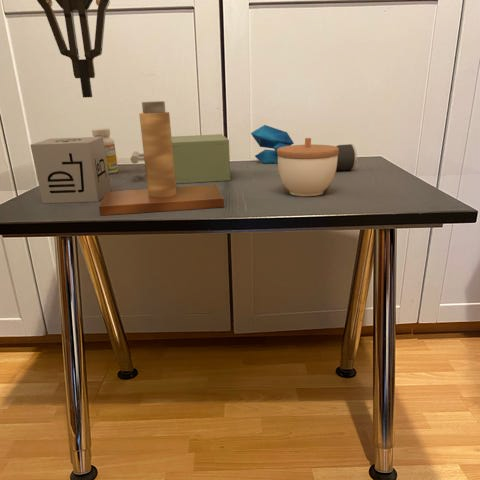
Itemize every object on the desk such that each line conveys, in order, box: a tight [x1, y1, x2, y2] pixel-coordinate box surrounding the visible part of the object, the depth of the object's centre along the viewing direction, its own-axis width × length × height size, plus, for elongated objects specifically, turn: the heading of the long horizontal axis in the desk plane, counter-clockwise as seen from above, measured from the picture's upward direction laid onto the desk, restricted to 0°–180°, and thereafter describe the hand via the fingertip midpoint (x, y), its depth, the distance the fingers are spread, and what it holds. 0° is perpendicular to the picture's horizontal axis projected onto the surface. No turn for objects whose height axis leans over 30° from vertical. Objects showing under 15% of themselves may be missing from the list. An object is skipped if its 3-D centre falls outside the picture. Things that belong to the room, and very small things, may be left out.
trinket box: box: [277, 137, 339, 197], centre depth 85 cm, size 11×11×9 cm
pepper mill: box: [138, 100, 177, 198], centre depth 80 cm, size 5×5×15 cm
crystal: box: [250, 124, 295, 165], centre depth 120 cm, size 7×9×12 cm
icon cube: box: [29, 136, 112, 204], centre depth 89 cm, size 10×10×10 cm
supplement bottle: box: [91, 128, 119, 175], centre depth 113 cm, size 5×5×10 cm
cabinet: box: [171, 133, 231, 185], centre depth 104 cm, size 15×13×8 cm
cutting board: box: [98, 184, 225, 216], centre depth 83 cm, size 20×12×2 cm, turn 99°
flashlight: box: [335, 143, 357, 172], centre depth 106 cm, size 15×5×5 cm, turn 102°
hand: (87, 97), depth 94 cm, fingers closed
